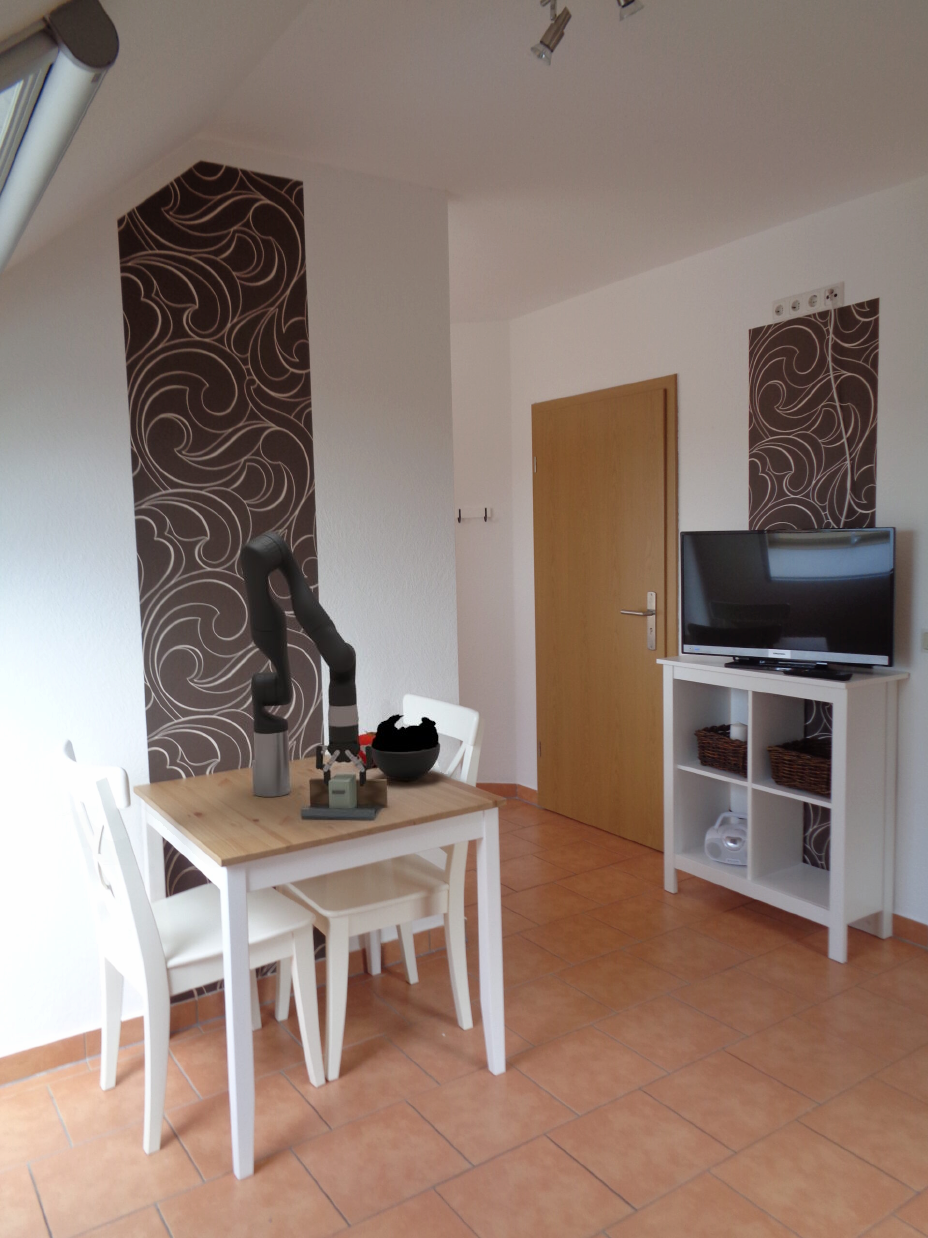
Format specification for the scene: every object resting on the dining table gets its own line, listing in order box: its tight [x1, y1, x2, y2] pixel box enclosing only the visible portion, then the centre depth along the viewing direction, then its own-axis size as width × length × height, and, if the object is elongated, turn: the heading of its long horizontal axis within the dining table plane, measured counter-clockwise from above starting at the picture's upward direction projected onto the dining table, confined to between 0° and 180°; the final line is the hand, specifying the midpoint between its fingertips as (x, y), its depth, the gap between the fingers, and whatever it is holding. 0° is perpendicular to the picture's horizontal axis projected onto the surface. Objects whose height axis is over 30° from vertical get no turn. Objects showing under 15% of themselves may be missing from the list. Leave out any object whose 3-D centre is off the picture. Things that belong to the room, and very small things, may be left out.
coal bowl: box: [372, 713, 441, 782], centre depth 259 cm, size 20×20×19 cm
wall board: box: [308, 777, 388, 809], centre depth 233 cm, size 20×2×7 cm, turn 83°
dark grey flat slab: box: [300, 804, 383, 821], centre depth 227 cm, size 18×11×2 cm, turn 83°
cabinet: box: [329, 773, 357, 808], centre depth 227 cm, size 5×9×8 cm, turn 173°
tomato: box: [358, 730, 377, 767], centre depth 279 cm, size 12×12×10 cm
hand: (345, 785), depth 228 cm, fingers open, 8 cm apart
